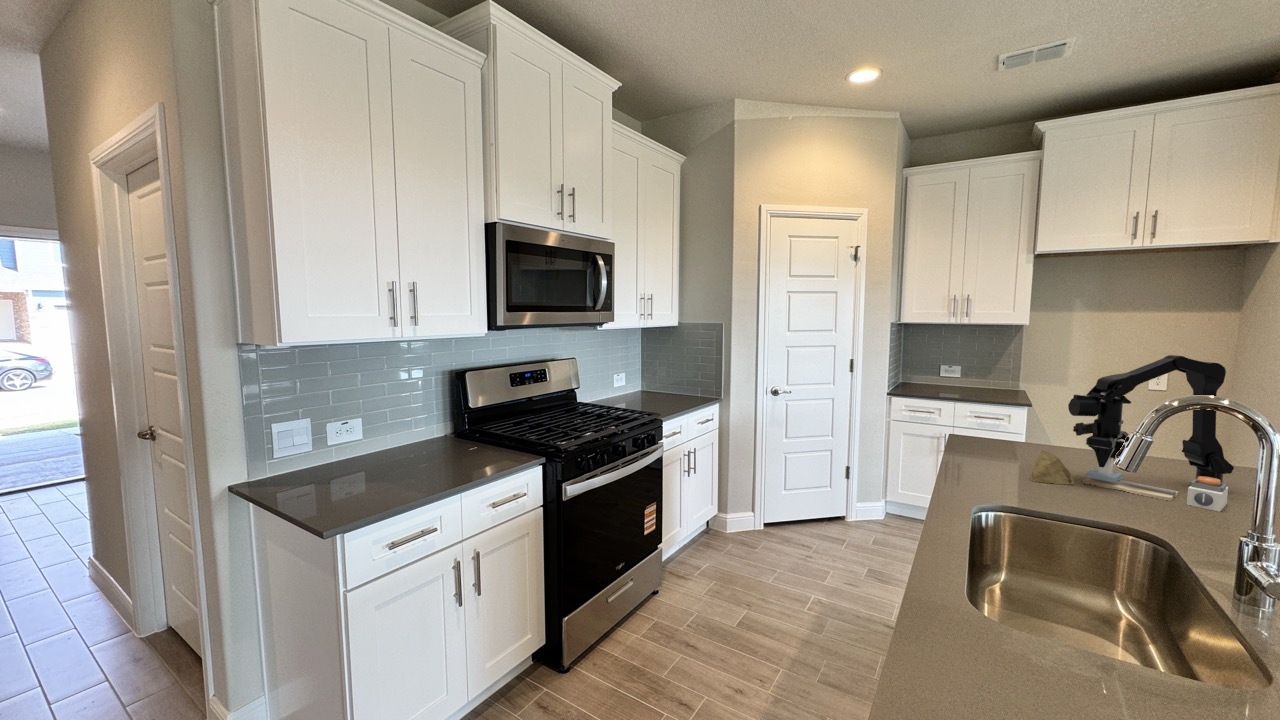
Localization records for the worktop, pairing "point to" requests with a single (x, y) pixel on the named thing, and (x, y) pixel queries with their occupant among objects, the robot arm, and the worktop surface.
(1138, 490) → the rail
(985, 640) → the worktop surface
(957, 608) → the worktop surface
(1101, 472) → the carriage
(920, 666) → the worktop surface
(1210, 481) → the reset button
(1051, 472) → the rock
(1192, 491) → the gauge cabinet
